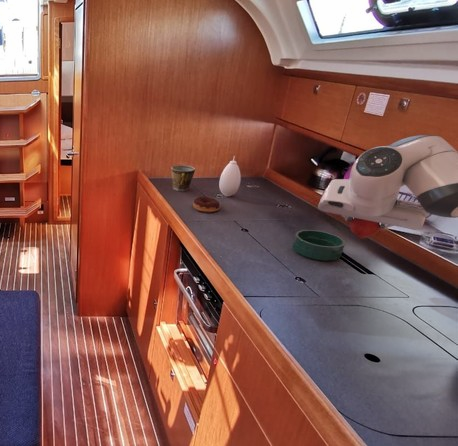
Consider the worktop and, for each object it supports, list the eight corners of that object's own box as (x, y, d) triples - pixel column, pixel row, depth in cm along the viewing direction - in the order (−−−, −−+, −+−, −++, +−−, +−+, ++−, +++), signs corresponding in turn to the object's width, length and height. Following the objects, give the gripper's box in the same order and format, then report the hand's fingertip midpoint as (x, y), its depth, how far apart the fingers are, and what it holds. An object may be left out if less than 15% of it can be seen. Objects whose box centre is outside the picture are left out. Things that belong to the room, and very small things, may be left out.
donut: (215, 215, 152) (217, 205, 151) (189, 210, 158) (190, 201, 156) (221, 207, 160) (223, 198, 158) (196, 202, 165) (197, 194, 164)
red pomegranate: (353, 242, 103) (362, 214, 100) (342, 233, 108) (350, 206, 105) (380, 243, 101) (389, 215, 98) (367, 234, 106) (376, 206, 103)
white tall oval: (240, 199, 167) (248, 157, 160) (220, 198, 168) (227, 157, 161) (234, 192, 174) (241, 152, 167) (215, 192, 175) (221, 152, 168)
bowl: (335, 247, 125) (339, 232, 123) (345, 265, 115) (350, 250, 113) (289, 241, 130) (293, 227, 128) (295, 258, 120) (299, 243, 118)
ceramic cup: (168, 185, 188) (171, 164, 184) (191, 186, 185) (194, 165, 181) (169, 194, 177) (172, 172, 172) (193, 195, 173) (196, 173, 169)
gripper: (437, 195, 87) (425, 222, 96) (324, 178, 101) (323, 203, 111) (428, 220, 86) (416, 244, 96) (315, 199, 100) (315, 222, 110)
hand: (366, 222), depth 103 cm, fingers closed on red pomegranate, 6 cm apart
